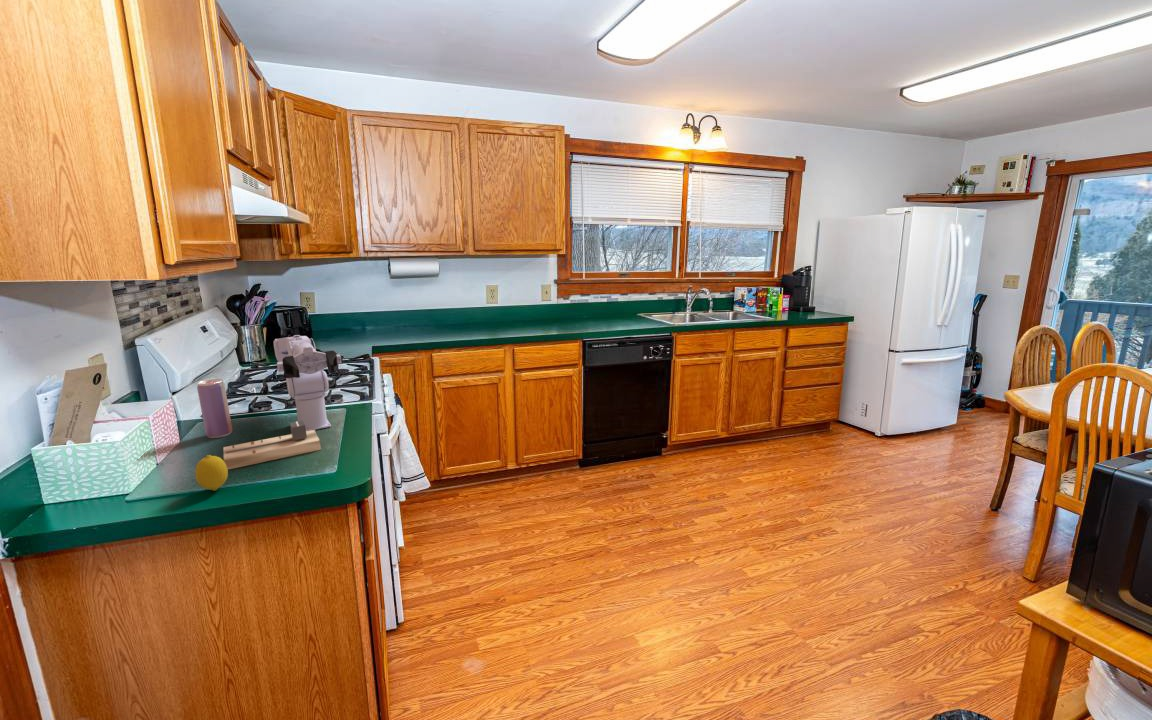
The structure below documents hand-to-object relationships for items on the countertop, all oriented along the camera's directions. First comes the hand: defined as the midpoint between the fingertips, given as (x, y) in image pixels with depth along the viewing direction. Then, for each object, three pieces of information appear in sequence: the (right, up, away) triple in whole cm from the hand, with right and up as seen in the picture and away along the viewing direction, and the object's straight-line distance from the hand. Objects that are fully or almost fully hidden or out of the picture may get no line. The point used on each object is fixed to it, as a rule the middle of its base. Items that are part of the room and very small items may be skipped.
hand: (315, 371), depth 125 cm
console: (-12, -20, +2) cm, 24 cm away
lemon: (-13, -25, -16) cm, 33 cm away
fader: (-7, -17, +5) cm, 19 cm away
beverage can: (-34, -18, +15) cm, 41 cm away
